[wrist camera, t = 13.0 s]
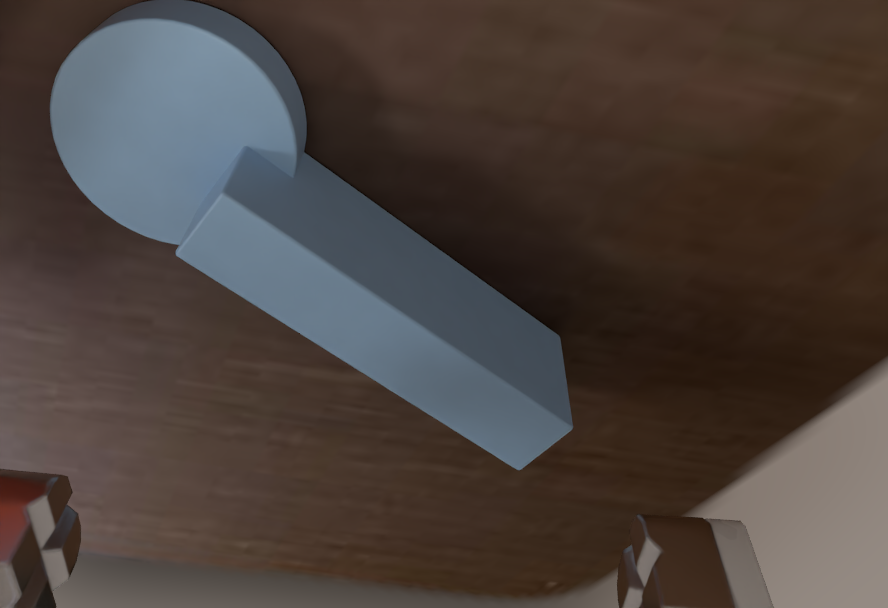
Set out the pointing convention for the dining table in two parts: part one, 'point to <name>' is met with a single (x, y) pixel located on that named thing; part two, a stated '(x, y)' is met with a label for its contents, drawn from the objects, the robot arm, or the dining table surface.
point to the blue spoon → (293, 222)
